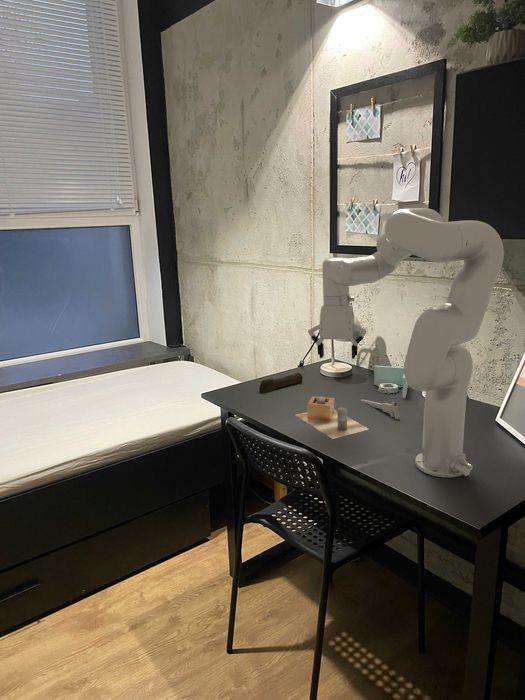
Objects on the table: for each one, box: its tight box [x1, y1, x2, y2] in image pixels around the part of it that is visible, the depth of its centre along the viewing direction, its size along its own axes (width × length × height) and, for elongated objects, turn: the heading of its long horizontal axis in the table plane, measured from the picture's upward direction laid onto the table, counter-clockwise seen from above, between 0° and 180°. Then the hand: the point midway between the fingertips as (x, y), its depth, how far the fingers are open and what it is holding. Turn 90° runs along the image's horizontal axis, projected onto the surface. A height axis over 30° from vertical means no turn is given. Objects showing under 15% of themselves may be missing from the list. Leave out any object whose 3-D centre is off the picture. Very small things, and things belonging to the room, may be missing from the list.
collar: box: [306, 395, 335, 421], centre depth 161 cm, size 7×7×5 cm
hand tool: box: [259, 372, 303, 393], centre depth 192 cm, size 19×4×5 cm, turn 123°
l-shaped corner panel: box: [373, 365, 409, 399], centre depth 183 cm, size 12×12×8 cm
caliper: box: [360, 399, 400, 420], centre depth 165 cm, size 20×1×6 cm, turn 24°
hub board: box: [295, 396, 370, 440], centre depth 156 cm, size 21×13×7 cm, turn 27°
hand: (337, 357), depth 155 cm, fingers open, 9 cm apart
